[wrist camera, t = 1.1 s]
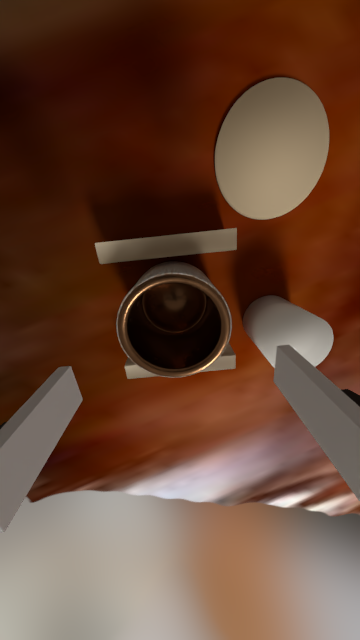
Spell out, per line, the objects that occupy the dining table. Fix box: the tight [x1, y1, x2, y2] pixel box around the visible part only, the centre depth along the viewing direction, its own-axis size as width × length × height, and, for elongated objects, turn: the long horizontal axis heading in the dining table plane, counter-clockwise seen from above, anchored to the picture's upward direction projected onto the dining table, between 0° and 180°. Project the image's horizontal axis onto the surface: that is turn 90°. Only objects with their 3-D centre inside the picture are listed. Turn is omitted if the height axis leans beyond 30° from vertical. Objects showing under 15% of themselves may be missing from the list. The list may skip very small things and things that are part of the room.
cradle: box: [95, 228, 237, 379], centre depth 25 cm, size 16×14×5 cm
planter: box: [116, 261, 232, 377], centre depth 23 cm, size 11×11×10 cm
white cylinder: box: [243, 295, 333, 368], centre depth 25 cm, size 7×7×8 cm
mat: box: [215, 77, 329, 220], centre depth 21 cm, size 12×12×1 cm
